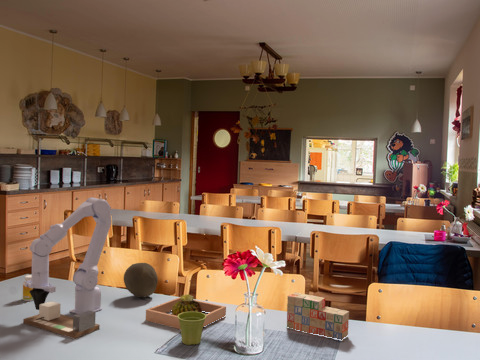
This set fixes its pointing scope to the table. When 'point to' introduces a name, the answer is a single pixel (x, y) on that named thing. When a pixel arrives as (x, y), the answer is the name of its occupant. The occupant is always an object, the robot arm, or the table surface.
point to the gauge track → (67, 324)
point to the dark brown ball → (141, 279)
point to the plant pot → (191, 327)
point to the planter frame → (160, 316)
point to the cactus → (186, 305)
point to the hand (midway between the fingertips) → (39, 309)
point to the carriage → (49, 310)
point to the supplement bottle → (27, 290)
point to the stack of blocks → (316, 316)
